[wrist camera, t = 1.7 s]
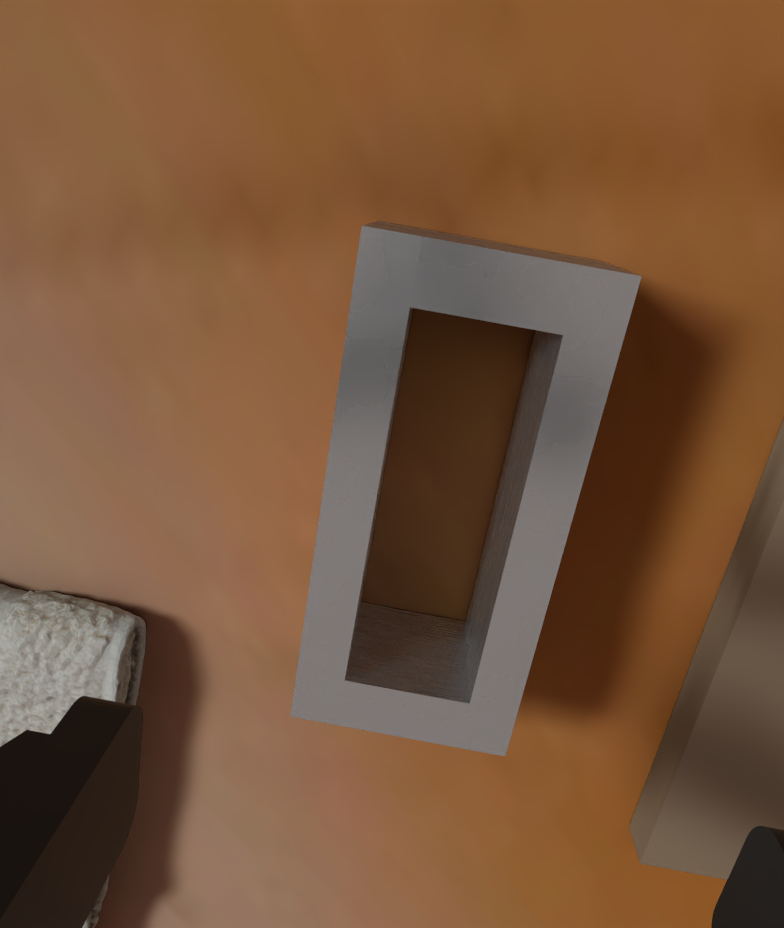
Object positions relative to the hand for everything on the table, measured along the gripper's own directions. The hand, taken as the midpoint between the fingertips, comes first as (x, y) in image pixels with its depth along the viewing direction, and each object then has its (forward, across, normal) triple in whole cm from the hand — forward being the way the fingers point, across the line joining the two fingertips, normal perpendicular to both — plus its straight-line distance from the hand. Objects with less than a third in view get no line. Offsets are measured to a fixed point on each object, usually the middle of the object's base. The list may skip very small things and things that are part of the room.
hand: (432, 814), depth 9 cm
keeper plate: (+13, -17, +2) cm, 21 cm away
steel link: (+13, 0, 0) cm, 13 cm away
